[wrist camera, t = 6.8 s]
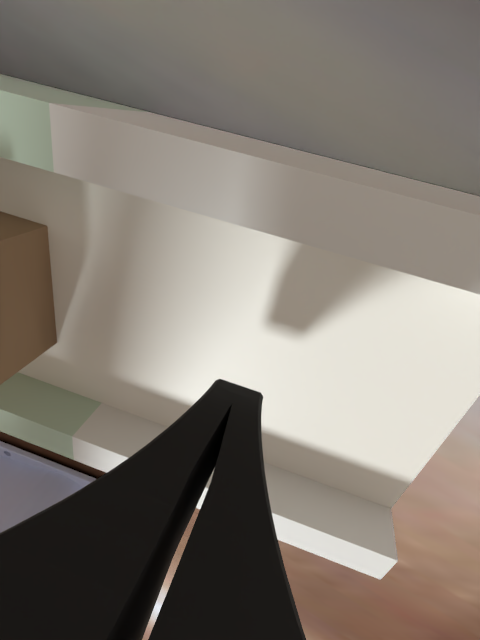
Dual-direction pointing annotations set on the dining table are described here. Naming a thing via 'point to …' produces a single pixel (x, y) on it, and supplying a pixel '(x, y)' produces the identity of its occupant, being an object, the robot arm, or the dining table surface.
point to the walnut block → (24, 294)
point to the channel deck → (244, 306)
